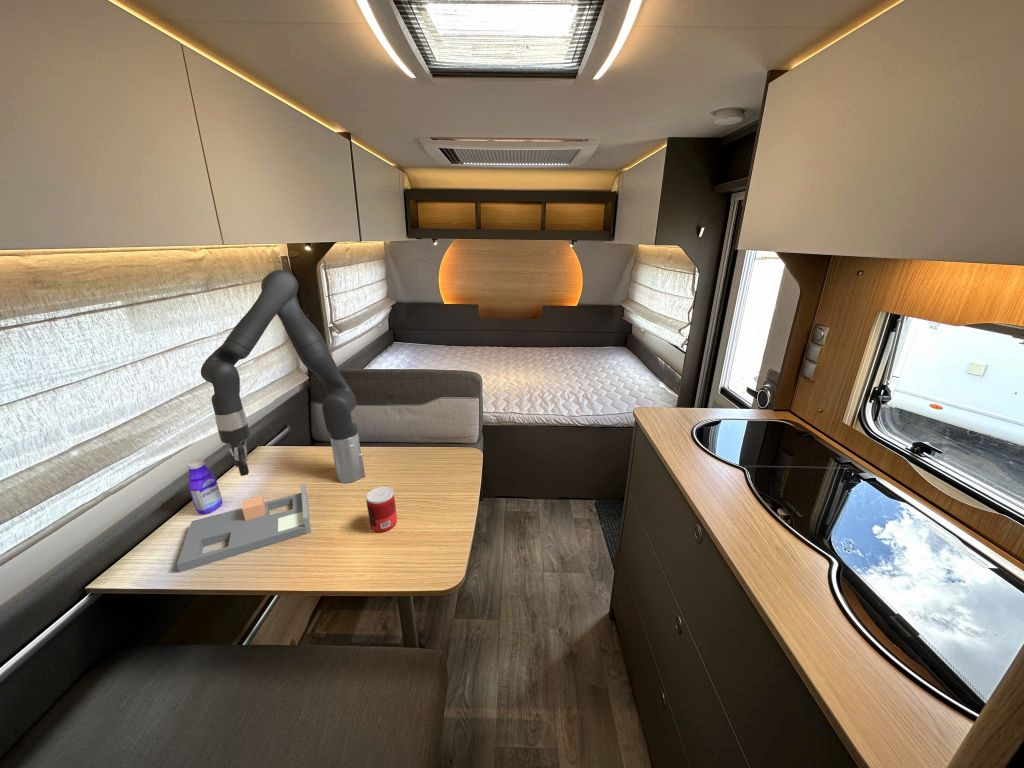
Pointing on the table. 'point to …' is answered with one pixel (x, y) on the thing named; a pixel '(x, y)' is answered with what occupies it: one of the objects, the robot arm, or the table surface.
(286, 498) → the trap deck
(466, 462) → the table surface
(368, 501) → the canned food
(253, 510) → the block
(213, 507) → the bottle
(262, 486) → the table surface
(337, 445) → the robot arm
